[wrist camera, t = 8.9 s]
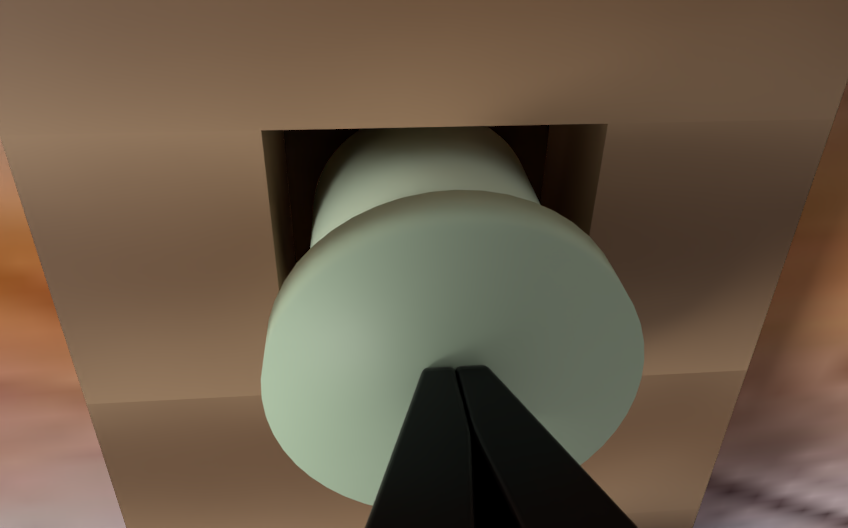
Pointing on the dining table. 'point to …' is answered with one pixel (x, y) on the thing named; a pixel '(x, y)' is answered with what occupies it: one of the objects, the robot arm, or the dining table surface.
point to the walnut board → (399, 108)
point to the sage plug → (440, 304)
